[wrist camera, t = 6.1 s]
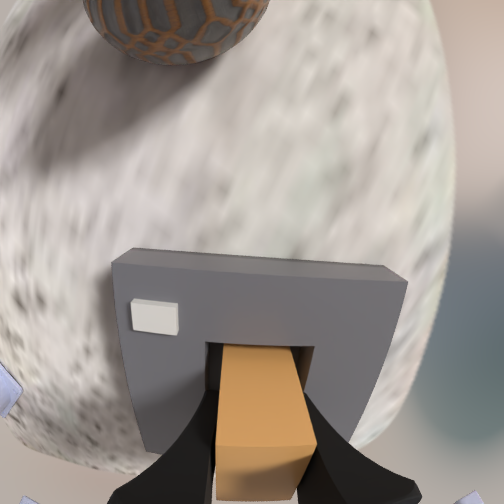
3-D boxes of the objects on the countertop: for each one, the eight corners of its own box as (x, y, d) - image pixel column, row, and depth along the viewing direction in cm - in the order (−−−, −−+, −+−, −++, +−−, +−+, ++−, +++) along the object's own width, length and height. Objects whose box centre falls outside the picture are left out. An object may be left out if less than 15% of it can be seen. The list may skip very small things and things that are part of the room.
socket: (332, 431, 16) (342, 460, 13) (154, 425, 15) (144, 455, 12) (383, 265, 13) (413, 284, 10) (133, 247, 12) (107, 265, 9)
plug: (276, 409, 14) (290, 499, 8) (221, 407, 13) (216, 500, 8) (288, 343, 13) (317, 444, 7) (223, 340, 12) (215, 445, 7)
